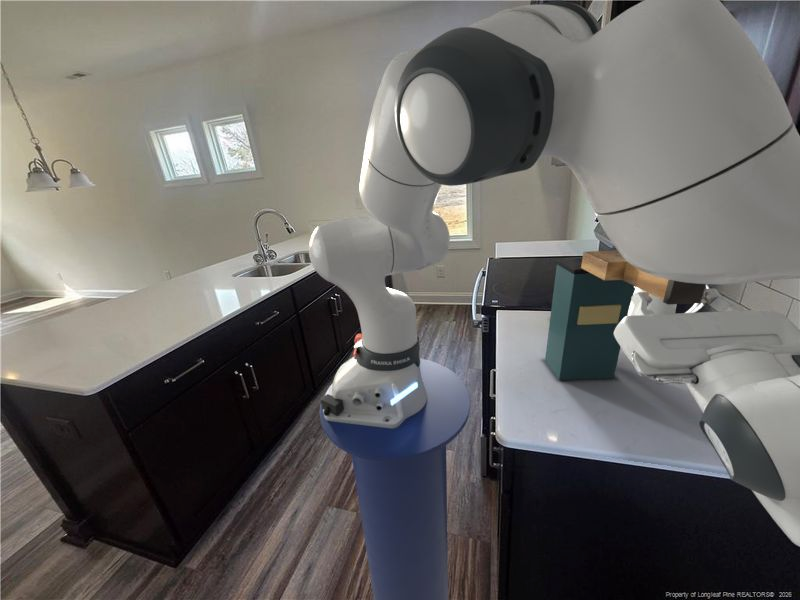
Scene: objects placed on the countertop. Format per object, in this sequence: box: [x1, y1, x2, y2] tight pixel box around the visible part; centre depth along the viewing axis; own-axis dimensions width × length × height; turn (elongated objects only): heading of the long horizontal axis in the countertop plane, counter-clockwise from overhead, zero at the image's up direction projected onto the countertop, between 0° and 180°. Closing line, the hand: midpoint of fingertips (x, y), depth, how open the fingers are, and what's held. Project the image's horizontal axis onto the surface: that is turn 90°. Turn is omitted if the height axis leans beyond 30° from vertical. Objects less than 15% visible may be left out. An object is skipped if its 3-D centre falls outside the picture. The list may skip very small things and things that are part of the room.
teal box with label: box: [544, 257, 635, 381], centre depth 70 cm, size 13×9×26 cm
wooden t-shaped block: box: [581, 249, 706, 305], centre depth 52 cm, size 10×18×4 cm, turn 178°
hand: (671, 292), depth 46 cm, fingers open, 8 cm apart
